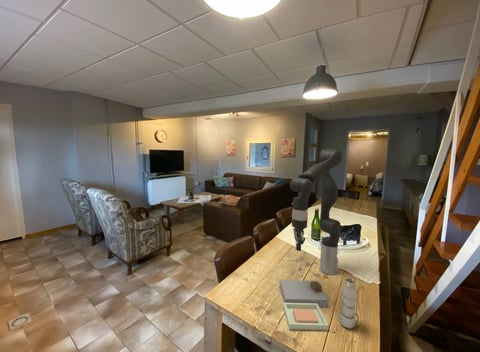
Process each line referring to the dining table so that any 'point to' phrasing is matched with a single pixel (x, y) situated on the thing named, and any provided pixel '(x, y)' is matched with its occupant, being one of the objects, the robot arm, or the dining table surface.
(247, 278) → the dining table surface
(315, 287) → the walnut block
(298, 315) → the terracotta tile
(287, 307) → the tray
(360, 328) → the dining table surface
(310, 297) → the grey slab
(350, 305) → the plastic bottle
